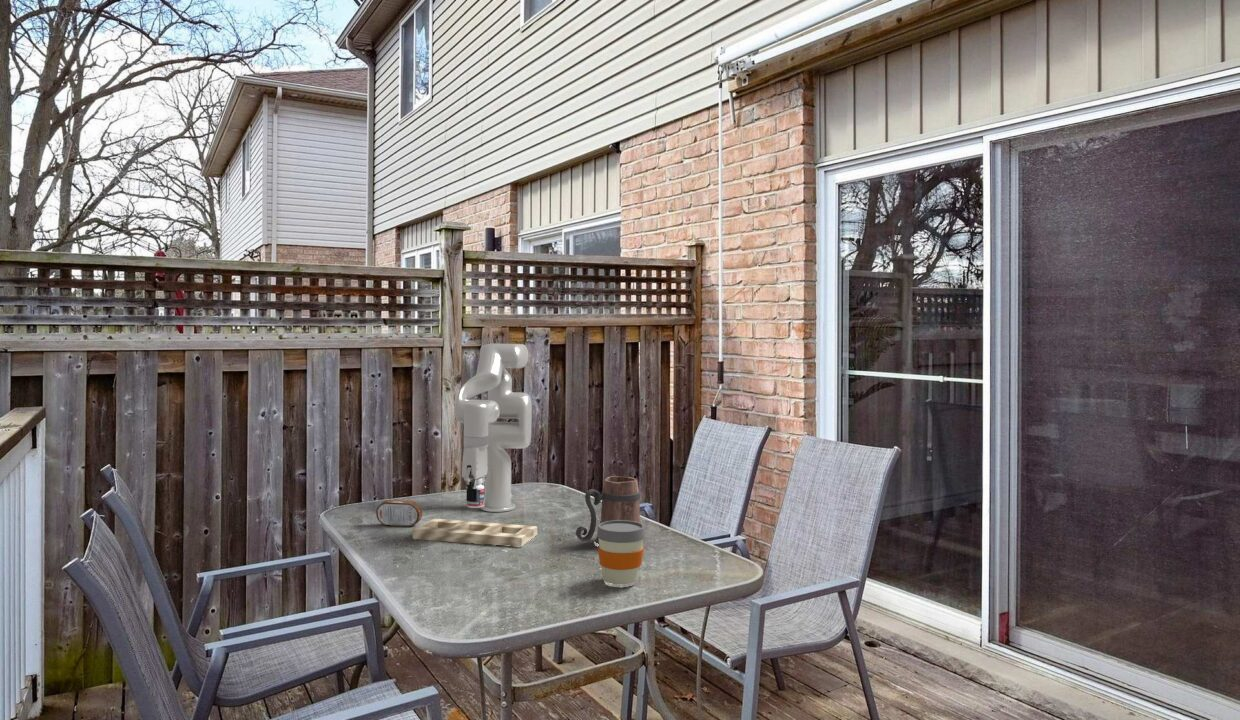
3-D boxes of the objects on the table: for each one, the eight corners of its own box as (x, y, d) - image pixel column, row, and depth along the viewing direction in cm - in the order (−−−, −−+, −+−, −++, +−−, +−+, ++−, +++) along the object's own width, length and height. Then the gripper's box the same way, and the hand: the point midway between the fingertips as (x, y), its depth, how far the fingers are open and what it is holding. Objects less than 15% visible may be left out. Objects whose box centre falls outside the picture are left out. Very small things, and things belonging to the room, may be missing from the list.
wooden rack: (412, 538, 245) (412, 529, 245) (433, 527, 258) (433, 518, 258) (521, 547, 237) (521, 537, 236) (537, 535, 250) (537, 526, 250)
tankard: (629, 533, 255) (629, 472, 254) (657, 546, 240) (658, 481, 239) (564, 542, 243) (565, 478, 242) (590, 556, 228) (591, 488, 227)
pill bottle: (482, 508, 244) (482, 480, 244) (465, 508, 244) (465, 479, 244) (485, 504, 249) (485, 477, 249) (469, 504, 249) (469, 476, 249)
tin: (422, 525, 261) (422, 500, 261) (419, 528, 258) (419, 502, 258) (378, 523, 263) (378, 498, 262) (374, 526, 259) (374, 501, 259)
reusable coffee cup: (607, 592, 198) (608, 534, 197) (589, 577, 209) (590, 522, 208) (652, 586, 203) (653, 529, 202) (632, 572, 214) (633, 518, 214)
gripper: (476, 437, 255) (475, 493, 256) (453, 444, 239) (452, 504, 239) (497, 438, 254) (497, 494, 254) (476, 446, 237) (475, 505, 237)
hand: (475, 498), depth 247 cm, fingers closed on pill bottle, 5 cm apart
